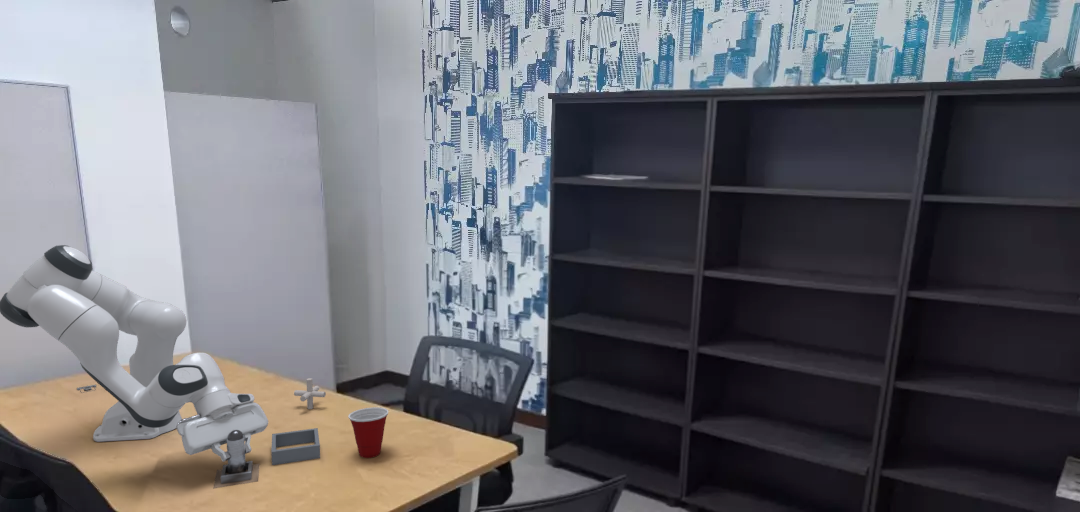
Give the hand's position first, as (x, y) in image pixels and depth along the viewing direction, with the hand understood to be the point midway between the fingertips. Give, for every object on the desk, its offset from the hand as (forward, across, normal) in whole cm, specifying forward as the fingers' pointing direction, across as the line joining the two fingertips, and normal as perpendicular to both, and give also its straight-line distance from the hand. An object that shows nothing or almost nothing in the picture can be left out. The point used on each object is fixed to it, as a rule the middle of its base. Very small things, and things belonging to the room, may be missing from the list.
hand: (237, 456), depth 156 cm
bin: (+4, +17, +6) cm, 18 cm away
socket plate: (+4, 0, +5) cm, 7 cm away
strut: (+3, 0, +4) cm, 5 cm away
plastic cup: (+14, +30, -4) cm, 34 cm away
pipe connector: (-16, +39, +25) cm, 49 cm away
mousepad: (-70, -3, +81) cm, 107 cm away
